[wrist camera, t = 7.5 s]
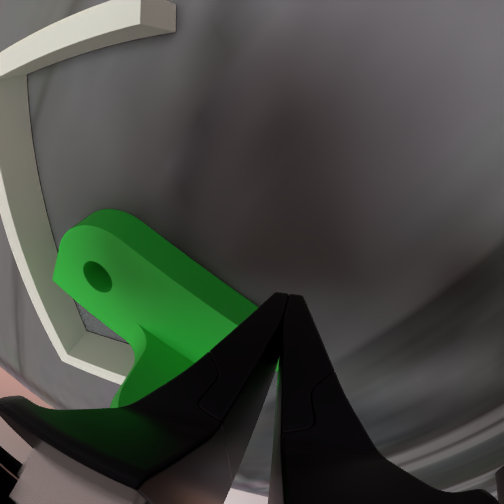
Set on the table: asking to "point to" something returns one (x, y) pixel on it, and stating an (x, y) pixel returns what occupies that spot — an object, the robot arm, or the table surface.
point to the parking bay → (27, 180)
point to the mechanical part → (146, 297)
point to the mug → (500, 485)
